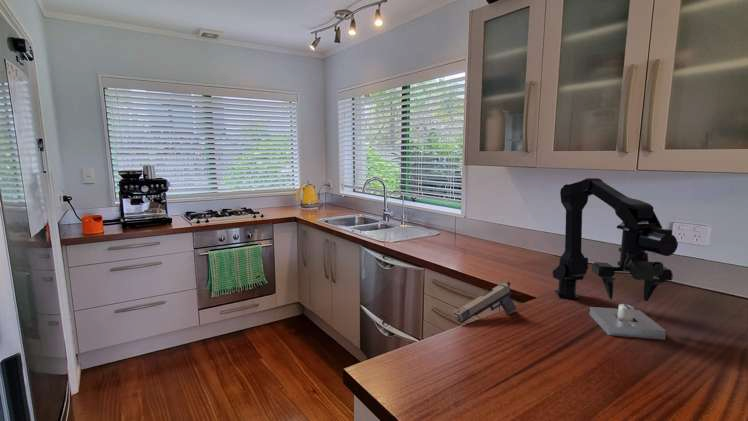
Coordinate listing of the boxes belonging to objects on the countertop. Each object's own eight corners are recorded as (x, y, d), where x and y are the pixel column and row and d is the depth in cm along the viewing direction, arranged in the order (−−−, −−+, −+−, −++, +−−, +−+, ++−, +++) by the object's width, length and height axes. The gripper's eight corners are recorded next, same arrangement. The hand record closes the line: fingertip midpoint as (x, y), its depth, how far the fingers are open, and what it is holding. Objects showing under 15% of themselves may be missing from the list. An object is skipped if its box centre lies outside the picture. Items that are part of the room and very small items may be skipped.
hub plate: (589, 314, 118) (590, 306, 118) (638, 317, 116) (639, 309, 115) (608, 335, 104) (609, 325, 104) (665, 339, 102) (666, 330, 102)
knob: (614, 322, 112) (616, 302, 111) (628, 323, 111) (630, 303, 111) (620, 328, 108) (622, 307, 108) (634, 329, 108) (637, 308, 107)
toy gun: (461, 338, 115) (452, 311, 113) (513, 305, 121) (506, 279, 119) (465, 342, 113) (456, 314, 110) (518, 308, 119) (511, 281, 116)
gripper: (609, 252, 100) (604, 308, 102) (688, 255, 97) (681, 313, 99) (593, 243, 111) (588, 293, 113) (664, 245, 108) (658, 298, 110)
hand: (627, 299), depth 109 cm, fingers open, 9 cm apart
